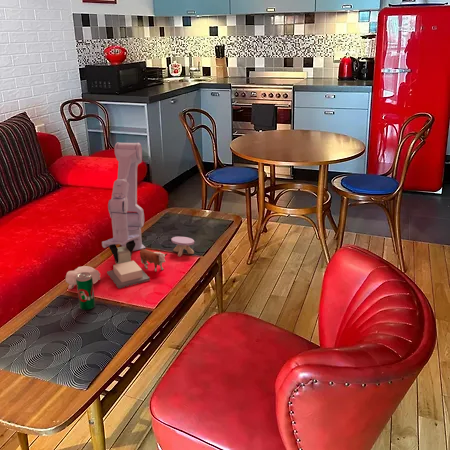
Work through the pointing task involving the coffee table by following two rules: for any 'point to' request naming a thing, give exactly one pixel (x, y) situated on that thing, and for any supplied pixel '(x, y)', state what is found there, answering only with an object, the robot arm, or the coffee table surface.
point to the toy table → (183, 244)
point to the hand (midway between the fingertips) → (122, 260)
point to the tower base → (118, 283)
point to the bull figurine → (152, 258)
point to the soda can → (85, 291)
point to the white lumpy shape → (72, 275)
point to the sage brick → (123, 255)
